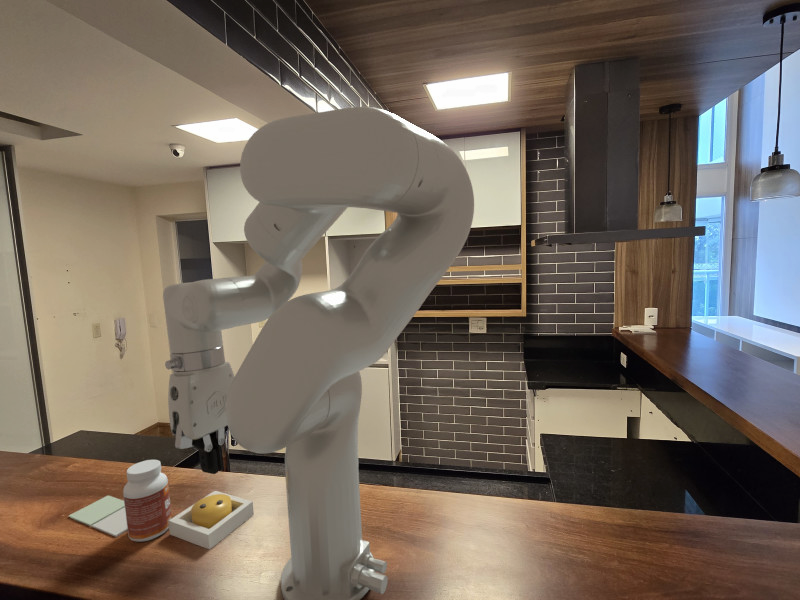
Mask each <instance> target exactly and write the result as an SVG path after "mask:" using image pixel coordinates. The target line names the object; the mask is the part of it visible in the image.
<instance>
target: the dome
mask: <svg viewBox="0 0 800 600" xmlns="http://www.w3.org/2000/svg"><path fill="white" fill-rule="evenodd" d="M204 497H205V498H204ZM204 497H203V498H201V499H199V500H198V501H196V502H195V503H193V504H194V505H193V504H192V505H193V507H192V509H191V514H192V523H193V524H196V525H199V526H202V527H205V528H207V529H210V528H211V527H213V526H214V525H215V524H217V523H218V522H220V521H221V520H222V519H224V518H225V517H226V516H228V515H229V514H230V513H232V506H231V498H230V497H229V496H228V495H224V494H216V495H211V496H208V497H206V496H204Z"/></svg>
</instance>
